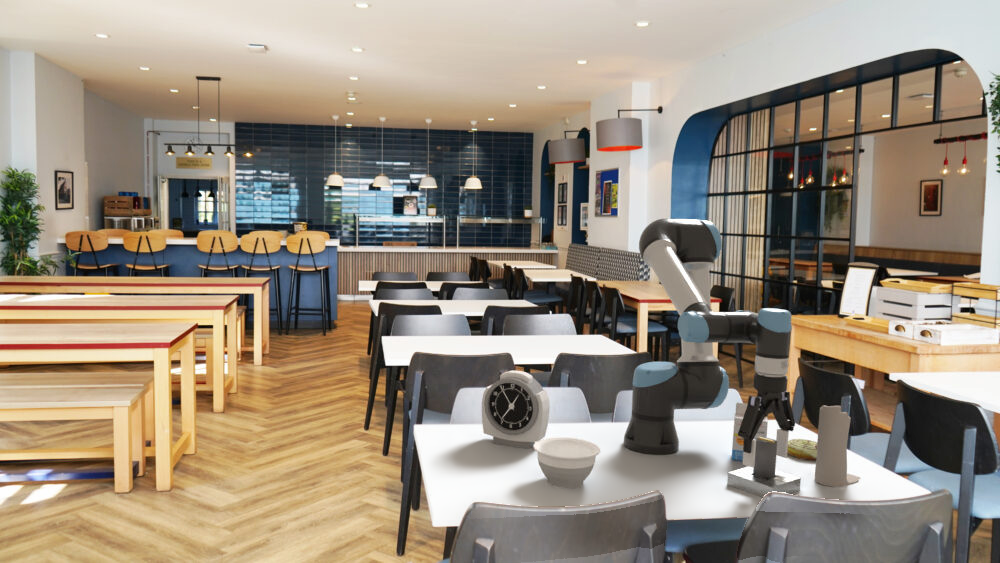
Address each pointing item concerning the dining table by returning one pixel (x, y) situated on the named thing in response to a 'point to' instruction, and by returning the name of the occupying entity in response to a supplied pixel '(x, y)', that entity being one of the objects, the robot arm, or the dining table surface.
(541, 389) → the alarm clock
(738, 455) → the ink box
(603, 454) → the dining table surface
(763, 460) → the grey rectangular block
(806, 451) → the decorated donut
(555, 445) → the bowl
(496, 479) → the dining table surface
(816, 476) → the grey boot shape
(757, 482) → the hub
